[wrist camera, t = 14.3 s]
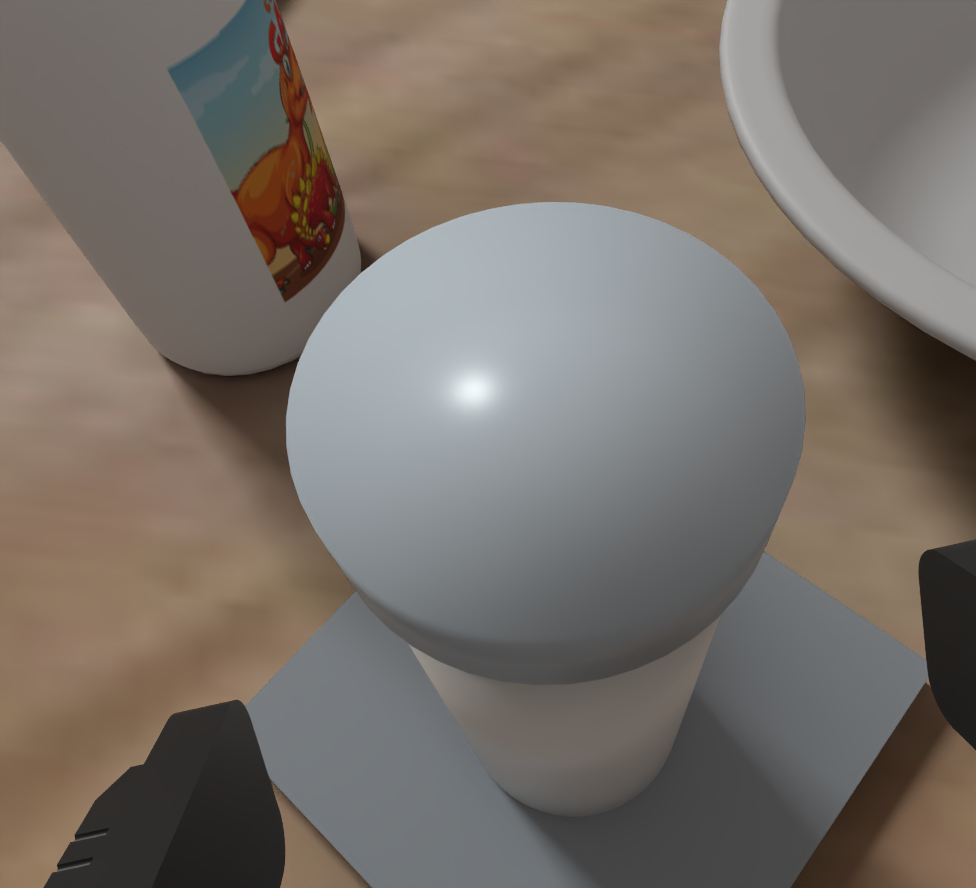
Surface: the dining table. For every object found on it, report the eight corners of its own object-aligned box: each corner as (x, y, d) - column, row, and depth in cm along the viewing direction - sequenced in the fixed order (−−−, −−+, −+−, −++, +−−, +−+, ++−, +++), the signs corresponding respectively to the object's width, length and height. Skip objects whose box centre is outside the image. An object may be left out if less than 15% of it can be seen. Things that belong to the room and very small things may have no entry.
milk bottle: (248, 425, 27) (-359, -490, 10) (99, 313, 30) (-565, -537, 13) (412, 266, 30) (155, -683, 12) (260, 177, 33) (-116, -685, 15)
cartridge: (411, 717, 21) (184, 429, 9) (554, 554, 23) (511, 140, 11) (589, 882, 19) (578, 771, 7) (733, 689, 21) (908, 350, 9)
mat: (237, 737, 22) (223, 728, 21) (540, 419, 26) (538, 400, 25) (617, 1140, 17) (618, 1150, 17) (921, 677, 21) (935, 666, 20)
